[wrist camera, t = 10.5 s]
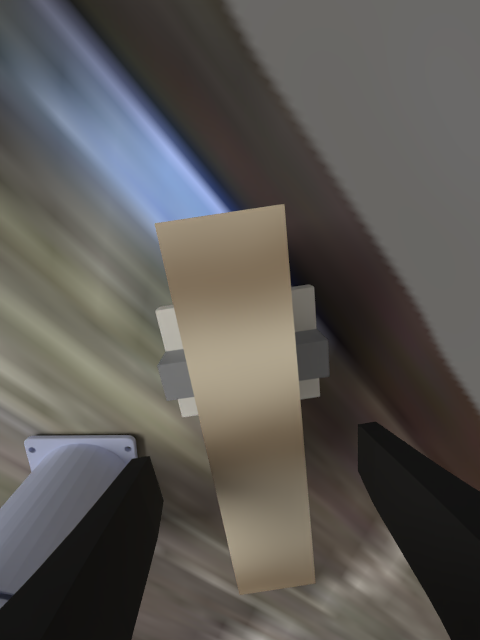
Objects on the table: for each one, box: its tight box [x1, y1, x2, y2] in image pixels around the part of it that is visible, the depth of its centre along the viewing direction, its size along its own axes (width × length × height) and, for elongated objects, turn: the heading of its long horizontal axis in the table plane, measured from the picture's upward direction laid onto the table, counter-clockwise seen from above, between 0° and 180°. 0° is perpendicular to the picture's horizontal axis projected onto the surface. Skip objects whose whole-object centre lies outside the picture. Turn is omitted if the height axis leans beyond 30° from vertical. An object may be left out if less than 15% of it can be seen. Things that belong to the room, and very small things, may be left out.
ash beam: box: [155, 204, 315, 595], centre depth 12 cm, size 16×4×6 cm, turn 8°
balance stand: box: [156, 284, 330, 417], centre depth 16 cm, size 8×10×3 cm
